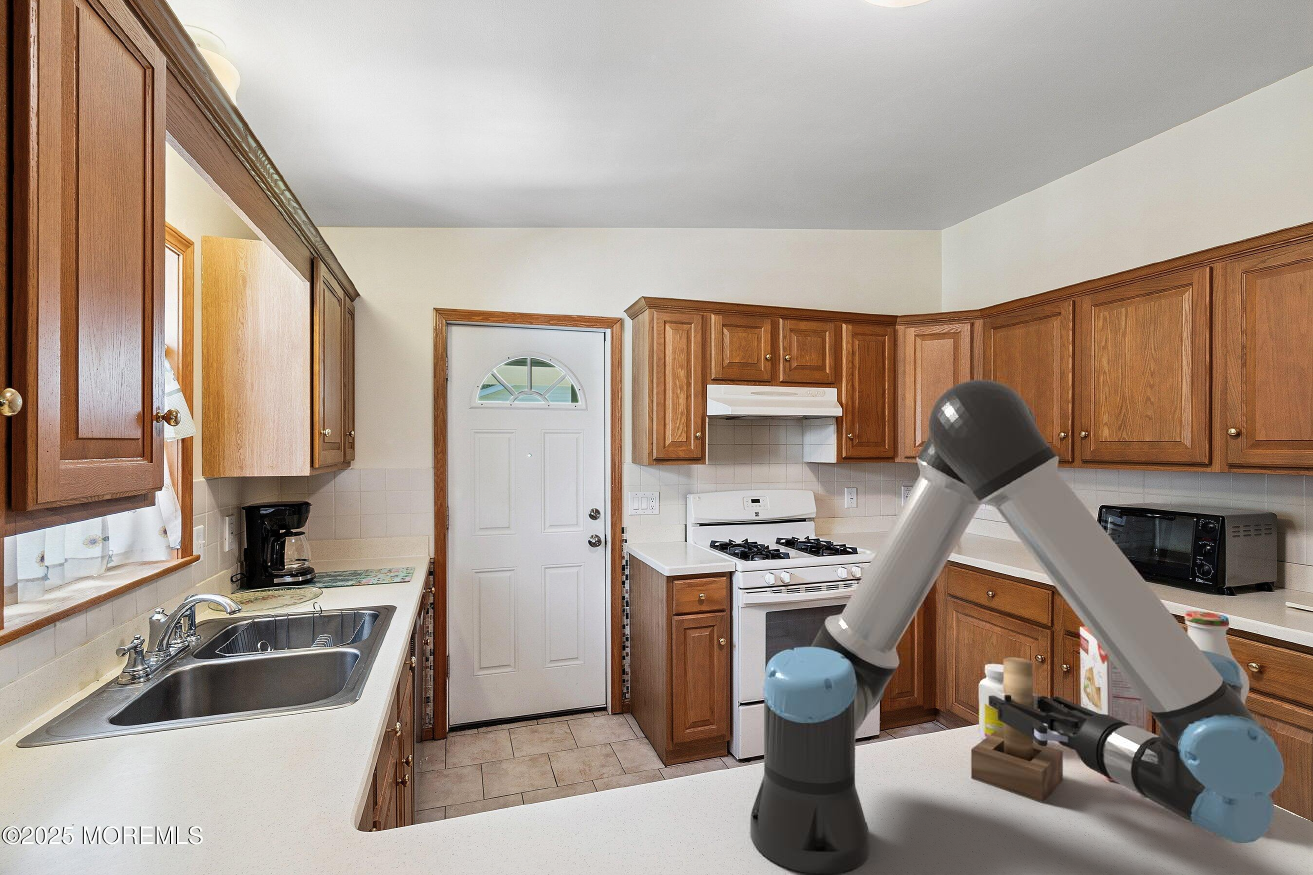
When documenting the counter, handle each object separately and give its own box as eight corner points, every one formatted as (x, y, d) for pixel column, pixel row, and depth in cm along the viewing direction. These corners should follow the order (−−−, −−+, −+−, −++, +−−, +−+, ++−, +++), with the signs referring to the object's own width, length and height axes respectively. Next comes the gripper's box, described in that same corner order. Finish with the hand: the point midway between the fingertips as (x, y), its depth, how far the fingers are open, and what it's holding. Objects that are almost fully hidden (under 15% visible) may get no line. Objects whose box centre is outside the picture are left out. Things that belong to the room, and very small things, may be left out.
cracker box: (1078, 744, 117) (1078, 624, 118) (1118, 749, 115) (1117, 627, 116) (1105, 781, 104) (1104, 646, 104) (1151, 788, 102) (1150, 650, 102)
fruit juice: (1260, 837, 89) (1258, 626, 89) (1171, 817, 94) (1170, 616, 94) (1243, 806, 97) (1241, 612, 97) (1162, 788, 102) (1161, 604, 102)
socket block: (1042, 802, 97) (1042, 771, 97) (971, 778, 104) (971, 748, 104) (1062, 779, 104) (1062, 750, 104) (994, 758, 111) (994, 731, 111)
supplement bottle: (1028, 749, 115) (1028, 674, 115) (989, 748, 115) (989, 673, 115) (1009, 733, 122) (1009, 662, 122) (972, 732, 122) (972, 661, 122)
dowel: (1028, 773, 101) (1027, 666, 102) (1000, 764, 104) (999, 661, 105) (1036, 764, 104) (1035, 661, 104) (1009, 756, 107) (1008, 655, 107)
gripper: (1069, 789, 85) (947, 718, 108) (1174, 774, 89) (1036, 709, 112) (1069, 729, 85) (947, 671, 108) (1174, 718, 89) (1035, 664, 112)
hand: (992, 690), depth 110 cm, fingers closed on dowel, 4 cm apart
